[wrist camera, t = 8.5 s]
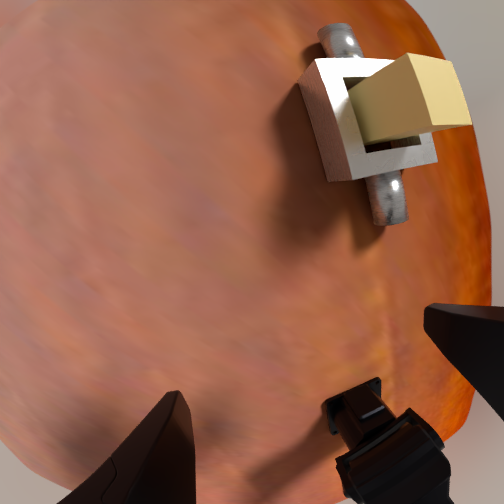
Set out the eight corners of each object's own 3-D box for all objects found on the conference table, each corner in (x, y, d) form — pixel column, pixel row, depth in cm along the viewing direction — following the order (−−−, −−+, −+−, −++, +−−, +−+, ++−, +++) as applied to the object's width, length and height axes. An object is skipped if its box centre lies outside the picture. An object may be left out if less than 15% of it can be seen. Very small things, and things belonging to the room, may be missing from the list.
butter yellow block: (383, 142, 20) (472, 124, 10) (344, 148, 20) (432, 125, 10) (370, 99, 19) (451, 61, 10) (331, 102, 19) (407, 53, 9)
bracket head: (415, 207, 22) (445, 211, 18) (338, 231, 21) (364, 240, 17) (366, 40, 18) (388, 22, 14) (282, 40, 17) (295, 15, 13)
